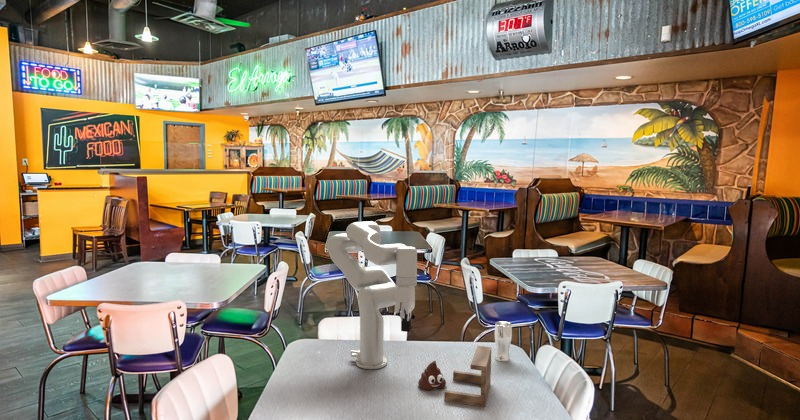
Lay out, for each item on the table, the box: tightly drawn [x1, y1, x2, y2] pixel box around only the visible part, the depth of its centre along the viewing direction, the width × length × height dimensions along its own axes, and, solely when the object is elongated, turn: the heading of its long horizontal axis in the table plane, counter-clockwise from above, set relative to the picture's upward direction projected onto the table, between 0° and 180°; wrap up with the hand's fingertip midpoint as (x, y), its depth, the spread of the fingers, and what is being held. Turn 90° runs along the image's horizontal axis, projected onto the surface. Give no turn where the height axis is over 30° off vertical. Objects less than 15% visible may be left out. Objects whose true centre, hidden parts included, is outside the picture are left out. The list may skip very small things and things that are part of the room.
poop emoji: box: [418, 360, 447, 391], centre depth 159 cm, size 10×8×9 cm
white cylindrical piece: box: [494, 320, 513, 363], centre depth 184 cm, size 7×7×15 cm
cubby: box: [443, 345, 492, 408], centre depth 155 cm, size 14×18×14 cm
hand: (405, 330), depth 161 cm, fingers closed
